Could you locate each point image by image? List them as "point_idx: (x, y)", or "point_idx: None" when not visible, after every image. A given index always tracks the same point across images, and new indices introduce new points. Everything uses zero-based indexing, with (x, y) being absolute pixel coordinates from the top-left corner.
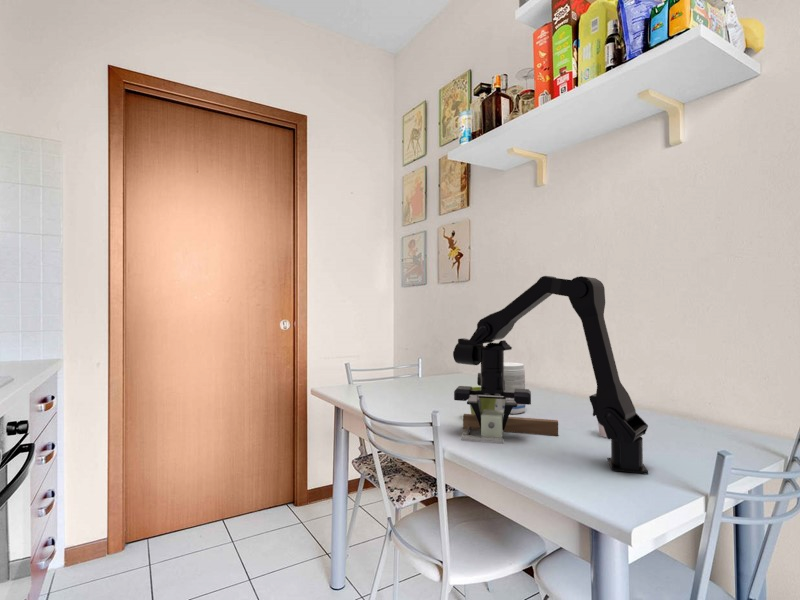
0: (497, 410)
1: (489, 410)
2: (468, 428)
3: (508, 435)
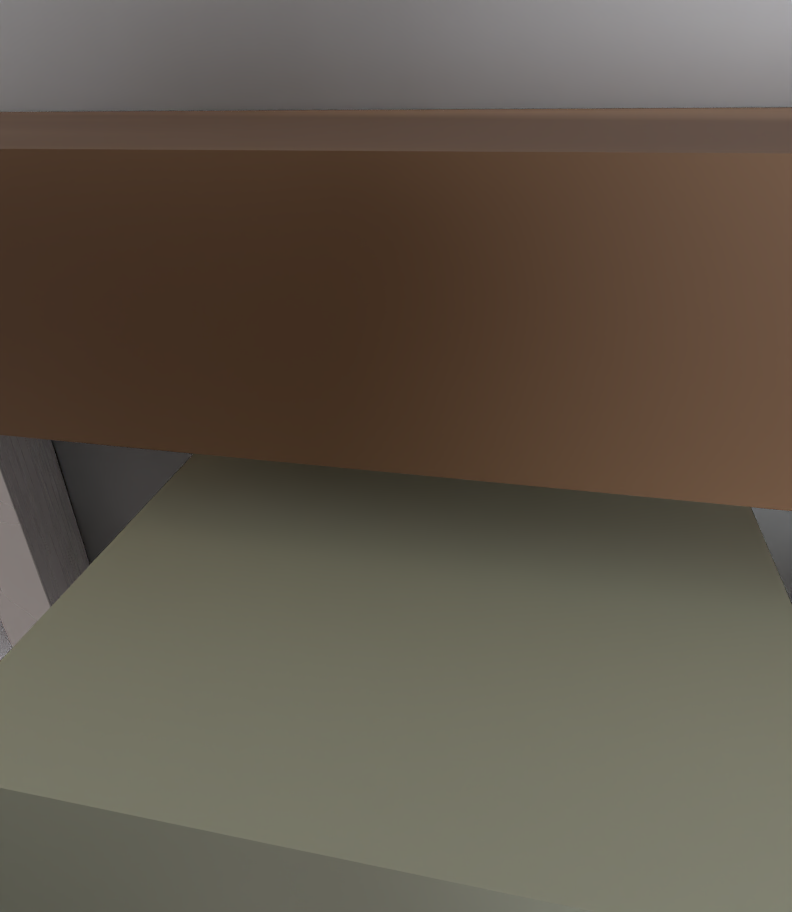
0: (568, 907)
1: (178, 886)
2: (11, 529)
3: (783, 557)
